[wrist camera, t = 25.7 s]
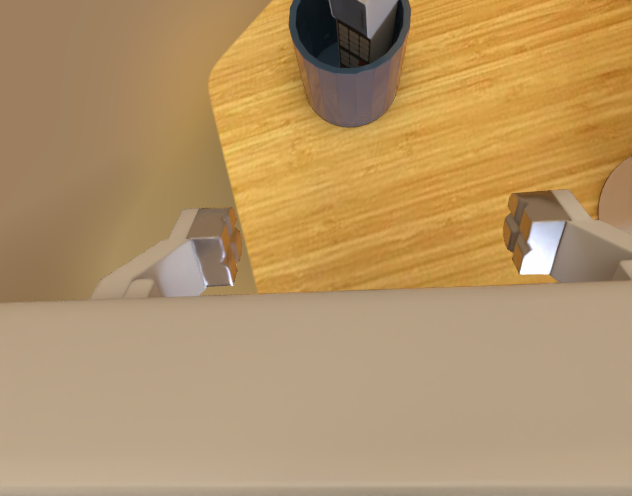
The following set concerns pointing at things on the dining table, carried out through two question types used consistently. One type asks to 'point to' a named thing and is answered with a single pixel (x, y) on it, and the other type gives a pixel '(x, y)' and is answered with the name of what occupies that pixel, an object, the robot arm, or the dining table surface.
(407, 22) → the dark grey mug
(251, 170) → the dining table surface
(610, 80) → the dining table surface
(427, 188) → the dining table surface
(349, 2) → the vintage mobile phone
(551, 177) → the dining table surface
